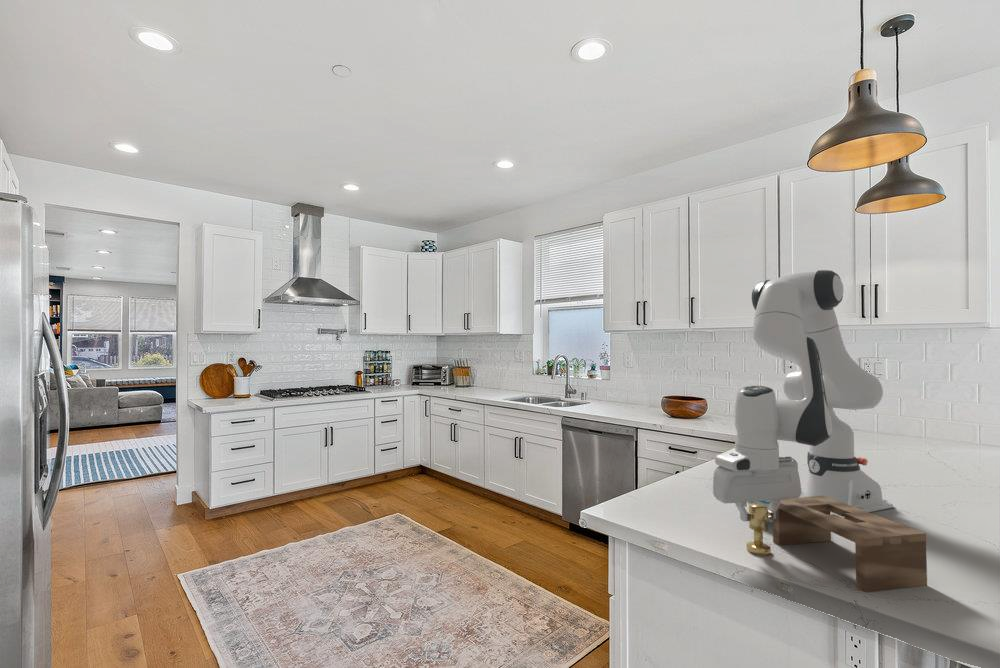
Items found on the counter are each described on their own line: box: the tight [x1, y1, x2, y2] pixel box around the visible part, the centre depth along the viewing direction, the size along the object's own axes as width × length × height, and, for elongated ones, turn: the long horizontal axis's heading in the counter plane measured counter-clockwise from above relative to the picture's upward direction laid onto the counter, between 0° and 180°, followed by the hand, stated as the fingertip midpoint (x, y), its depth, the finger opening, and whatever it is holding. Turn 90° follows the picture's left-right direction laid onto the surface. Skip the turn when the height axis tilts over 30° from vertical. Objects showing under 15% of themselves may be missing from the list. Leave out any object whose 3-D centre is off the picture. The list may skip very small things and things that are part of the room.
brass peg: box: [746, 503, 772, 557], centre depth 110 cm, size 5×5×10 cm
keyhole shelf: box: [772, 496, 928, 593], centre depth 105 cm, size 24×14×10 cm, turn 10°
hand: (758, 519), depth 110 cm, fingers open, 5 cm apart
